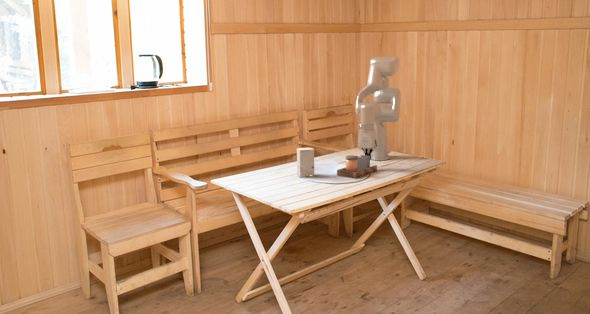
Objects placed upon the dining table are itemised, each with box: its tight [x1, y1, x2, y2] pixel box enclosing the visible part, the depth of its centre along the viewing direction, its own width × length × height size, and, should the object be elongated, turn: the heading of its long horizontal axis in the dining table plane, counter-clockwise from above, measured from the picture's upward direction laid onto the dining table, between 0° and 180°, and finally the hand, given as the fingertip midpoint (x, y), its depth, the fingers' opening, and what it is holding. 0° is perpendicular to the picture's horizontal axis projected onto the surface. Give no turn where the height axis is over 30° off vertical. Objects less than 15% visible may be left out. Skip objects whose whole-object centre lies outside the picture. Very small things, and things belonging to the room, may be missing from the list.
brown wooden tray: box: [336, 164, 378, 179], centre depth 302 cm, size 20×12×3 cm, turn 138°
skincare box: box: [296, 147, 315, 178], centre depth 300 cm, size 8×6×15 cm
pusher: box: [357, 154, 371, 170], centre depth 305 cm, size 6×8×7 cm
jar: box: [345, 154, 358, 172], centre depth 297 cm, size 6×6×9 cm
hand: (367, 160), depth 308 cm, fingers closed
